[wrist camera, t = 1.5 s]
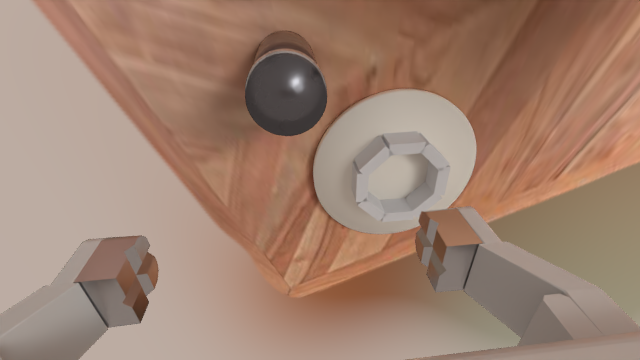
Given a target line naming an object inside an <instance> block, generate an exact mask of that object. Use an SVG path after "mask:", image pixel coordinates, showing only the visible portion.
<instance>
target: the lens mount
mask: <svg viewBox="0 0 640 360" xmlns="http://www.w3.org/2000/svg"><path fill="white" fill-rule="evenodd" d="M475 160H476V139H475V135H474V131H473V129H472V127H471V124H470V122H469V121H468V119H467V118H466V116H465V115H464V114H463V113H462V112H461V111H460V110H459V109H458V108H457V107H456V106H455V105H454V104H452V103H451V102H449V101H448V100H447V99H445V98H444V97H441V96H439V95H437V94H435V93H432V92H429V91H426V90H420V89H413V88H400V89H392V90H387V91H383V92H379V93H376V94H374V95H371V96H368V97H366V98H364V99H362V100H360V101H358V102H357V103H355V104H353V105H352V106H351V107H349V108H348V109H346V110H345V111H344V112H343V113H342V114H341V115H339V116H338V117H337V118H336V119H335V120H334V122H333V123H332V124H331V125H330V126H329V128H328V129H327V131H326V132H325V134H324V135H323V137H322V139H321V141H320V143H319V145H318V147H317V150H316V153H315V157H314V163H313V179H314V186H315V190H316V194H317V197H318V199H319V201H320V203H321V205H322V206H323V208H324V209H325V211H326V212H327V213H328V214H329V215H330V216H331V217H332V218H333V219H335V220H336V221H337V222H339V223H340V224H342V225H344V226H346V227H348V228H350V229H352V230H356V231H359V232H363V233H369V234H391V233H398V232H402V231H406V230H409V229H412V228H415V227H418V226H420V224H419V222H418V221H419V216H420V214H421V212H422V211H430V210H440V209H447V208H448V207H449V206H450V205H451V204H452V203H453V202H454V201H455V200H456V199H457V198H458V196H459V195H460V194H461V193H462V191H463V190H464V188H465V186H466V185H467V183H468V181H469V179H470V177H471V175H472V172H473V169H474V165H475Z"/></svg>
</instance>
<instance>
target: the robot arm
mask: <svg viewBox="0 0 640 360" xmlns="http://www.w3.org/2000/svg"><path fill="white" fill-rule="evenodd" d="M418 222H419V224H420V225H421V228H420V230H419V231H418V232H417V233H416V239H415V243H416V251H417V254H418V257H419V259H420V261H421V263H422V264H424V265H425V266H427V267H428V270H427V276H428V278H429V280H430V282H431V284H432V286H433V288H434V290H435V292H442V291H454V290H464V292H465V293H466V294H468V295H469V296H471V298H473V299H474V300H475V301H476V302H478V303H479V304H480V305H481V306H483V307H484V308H485V309H486V310H488V311H489V312H490V313H491V314H492V315H494V316H495V317H496V318H497V319H499V320H500V321H501V322H502V323H504V324H505V325H506V326H507V327H508V328H510V329H511V330H512V331H513V332H515V333H516V334H517V335H518V336H520V337H521V340H520V342H519V343H518V345H517V346H514V347H506V348H498V349H489V350H481V351H473V352H464V353H456V354H448V355H440V356H432V357H423V358H415V359H407V360H640V327H639V326H638V325H637V324H636V323H635V322H634V321H633V320H632V319H631V318H630V317H629V316H628V315H627V314H626V313H625V312H624V311H623V310H622V309H621V308H620V307H619V306H618V305H617V304H616V303H615V302H614V301H613V300H612V299H611V298H610V297H609V296H608V295H607V294H606V293H605V292H604V291H603V290H602V289H601V288H599V287H597V286H595V285H593V284H591V283H589V282H587V281H585V280H583V279H581V278H579V277H577V276H575V275H573V274H571V273H569V272H567V271H565V270H563V269H561V268H559V267H557V266H555V265H553V264H551V263H549V262H547V261H545V260H543V259H541V258H539V257H537V256H535V255H533V254H531V253H529V252H527V251H525V250H523V249H521V248H519V247H517V246H515V245H513V244H511V243H509V242H502V241H501V240H500V239H499V238H498V236H497V235H496V234H495V233H494V232H493V230H492V229H491V228H490V227H489V226H488V224H487V223H486V222H485V221H484V220H483V218H482V217H481V216H480V215H479V214H478V212H477V211H476V210H475V209H474V208H473V207H471V206H466V207H457V208H451V209H440V210H430V211H422V212H421V214H420V216H419V221H418ZM149 247H150V244H149V242H148V240H147V238H146V237H144V236H128V237H113V238H103V239H88V240H86V241H84V242H82V243H81V245H80V246H79V247H78V249H77V250H76V252H75V253H74V254H73V256H72V257H71V258H70V260H69V261H68V262H67V264H66V265H65V266H64V268H63V269H62V270H61V272H60V273H59V274H58V276H57V277H56V278H55V280H54V281H53V282H52V284H51V285H50V286H43V287H42V288H40V289H39V290H37V291H36V292H34V293H32V294H31V295H29V296H28V297H26V298H25V299H23V300H22V301H20V302H19V303H17V304H15V305H14V306H12V307H11V308H9V309H8V310H6V311H4V312H3V313H1V314H0V360H78V359H79V358H80V357H81V356H82V355H83V354H84V353H85V352H86V351H87V350H88V349H89V348H90V347H91V346H92V345H93V344H94V343H95V342H96V341H97V340H98V339H99V338H100V337H101V336H102V335H103V334H104V333H105V332H106V331H107V330H108V328H109V327H115V326H124V325H131V324H138V323H141V321H142V318H143V316H144V313H145V311H146V308H147V306H148V304H149V301H148V299H147V297H146V296H147V295H148V294H149V293H150V292H151V291H153V290H154V288H155V286H156V283H157V280H158V264H157V261H156V259H155V257H154V256H153V255H151V254H150V253H148V252H147V251H148V249H149Z"/></svg>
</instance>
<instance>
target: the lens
mask: <svg viewBox="0 0 640 360" xmlns="http://www.w3.org/2000/svg"><path fill="white" fill-rule="evenodd" d="M245 99H246V105H247V108H248V111H249V113H250V115H251V116H252V118H253V119H254V121H255V122H256V123H257V124H258V125H259V126H261V127H262V128H263V129H265V130H266V131H268V132H270V133H273V134H276V135H281V136H293V135H298V134H301V133H304V132H306V131H307V130H309V129H311V128H312V127H313V126H314V125H315V124H316V123H317V122H318V121H319V120H320V118H321V117H322V115H323V113H324V111H325V107H326V103H327V89H326V83H325V79H324V77H323V74H322V72H321V70H320V68H319V67H318V65H317V62H316V60H315V57H314V54H313V52H312V49H311V47H310V45H309V44H308V43H307V41H306V40H305V39H304V38H303V37H301V36H300V35H298V34H296V33H294V32H290V31H278V32H274V33H272V34H270V35H269V36H267V37H266V38H265V39H264V40H263V41H262V42H261V44H260V46H259V48H258V50H257V54H256V57H255V60H254V63H253V66H252V67H251V69H250V71H249V74H248V77H247V80H246V85H245Z"/></svg>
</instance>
